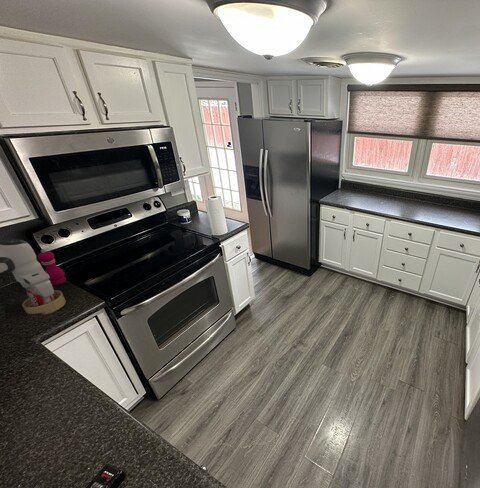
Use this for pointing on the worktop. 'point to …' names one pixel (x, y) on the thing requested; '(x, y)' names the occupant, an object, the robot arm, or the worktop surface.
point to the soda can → (36, 298)
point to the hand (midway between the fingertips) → (43, 299)
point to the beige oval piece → (45, 305)
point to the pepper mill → (51, 267)
